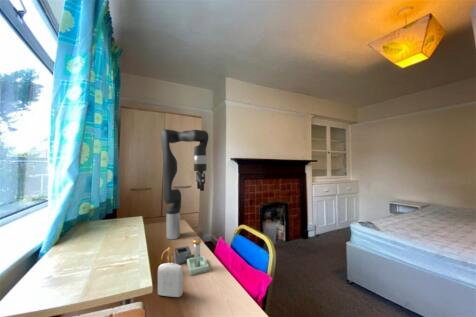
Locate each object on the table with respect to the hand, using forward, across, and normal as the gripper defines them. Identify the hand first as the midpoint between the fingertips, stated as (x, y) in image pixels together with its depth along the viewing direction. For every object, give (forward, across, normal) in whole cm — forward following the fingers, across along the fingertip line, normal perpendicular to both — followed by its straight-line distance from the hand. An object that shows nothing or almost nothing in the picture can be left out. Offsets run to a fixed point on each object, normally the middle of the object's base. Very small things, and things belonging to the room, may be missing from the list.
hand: (200, 189), depth 120 cm
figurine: (+36, -18, +19) cm, 45 cm away
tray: (+36, -19, +6) cm, 41 cm away
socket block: (+36, -8, +12) cm, 39 cm away
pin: (+36, -19, +6) cm, 41 cm away
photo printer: (+36, -34, +20) cm, 54 cm away
